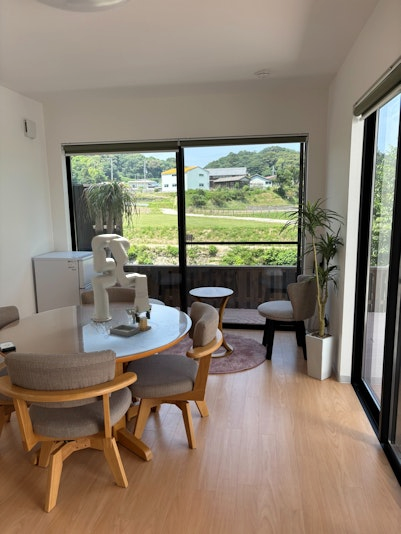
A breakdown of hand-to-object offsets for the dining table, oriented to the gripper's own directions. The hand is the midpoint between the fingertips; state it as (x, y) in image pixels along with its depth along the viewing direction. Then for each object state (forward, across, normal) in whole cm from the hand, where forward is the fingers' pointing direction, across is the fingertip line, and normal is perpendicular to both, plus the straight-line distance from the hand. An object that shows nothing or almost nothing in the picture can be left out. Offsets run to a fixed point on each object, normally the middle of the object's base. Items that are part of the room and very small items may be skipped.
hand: (143, 320), depth 256 cm
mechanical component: (+6, -7, -14) cm, 17 cm away
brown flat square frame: (+6, 0, 0) cm, 6 cm away
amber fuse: (+6, 0, 0) cm, 6 cm away
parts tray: (+6, +11, -6) cm, 14 cm away
